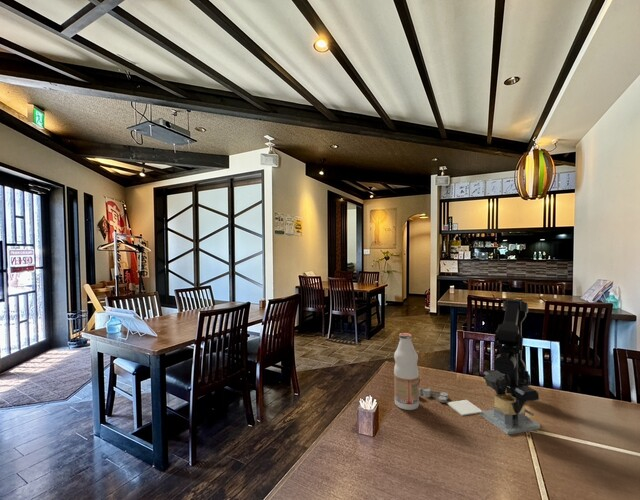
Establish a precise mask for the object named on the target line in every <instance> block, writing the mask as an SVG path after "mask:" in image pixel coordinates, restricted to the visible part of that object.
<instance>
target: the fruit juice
mask: <svg viewBox="0 0 640 500" xmlns="http://www.w3.org/2000/svg"><path fill="white" fill-rule="evenodd" d="M398 337H399V342H398V344H397V347H396V349H395V351H394V354H393V358H394V363H395V364H394V368H393V379H394V380H393V381H394V382H393V383H394V391H393V392H394V403H395V406H396V407H398V408H399V409H401V410H405V411H413V410H416V409H418V408H419V406H420V397H419V388H420V387H419V385H420V381H419V380H420V377H419V374H420V373H419V368H418V360H419V355H418V353H417V351H416V350H415V347H414V344H413V342H412V339H413V336H412V334H411V333H408V332H401V333H399V336H398Z"/></svg>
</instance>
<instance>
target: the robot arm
mask: <svg viewBox="0 0 640 500" xmlns="http://www.w3.org/2000/svg"><path fill="white" fill-rule="evenodd" d="M502 310H503V311H505V312H504V317H503V322H502V323H500V324H498V327H497V329H496V330H495V331H494V343H493V350H496V351H498V354H497V356H496V358H495V359H494V363H493V364H494V368H495V369H491V370H490V369H489V370H485V371H484V372H483V373H482V378H483V380H484V381H485V384H486V386H487V387H490V388H492V389H493V390H494V391H495V395H498V394H505V393H510V394H512V395H511V396H512V397H513V398H514V404H515V413H516V414H519V412H520V411H521V409H522V407H523V406H524V407H525V404H526V403H527V402H531V401H537V400H539V398H540V397H539V395H540V394H539V392H538V391H537V390H536V389H534V388H532V387H530V386H532V385H531V384H532V383H531V375H530V374H529V373H530V372H529V371H528V370H527V365H526V363H525V362H524V360H523V359H522V357H523V356H522V355H523V354H522V353H523V352H522V351H523V347H524V346H523V345H524V338H523V336H522V335H523V334H522V333H523V332H522V330H523V328H522V327H523V325H522V324H523V322H524V321H525V319H526V317H527V314H528V313H529V303H528V302H525V301H524V300H519V299H506V300H503V301H502Z"/></svg>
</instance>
